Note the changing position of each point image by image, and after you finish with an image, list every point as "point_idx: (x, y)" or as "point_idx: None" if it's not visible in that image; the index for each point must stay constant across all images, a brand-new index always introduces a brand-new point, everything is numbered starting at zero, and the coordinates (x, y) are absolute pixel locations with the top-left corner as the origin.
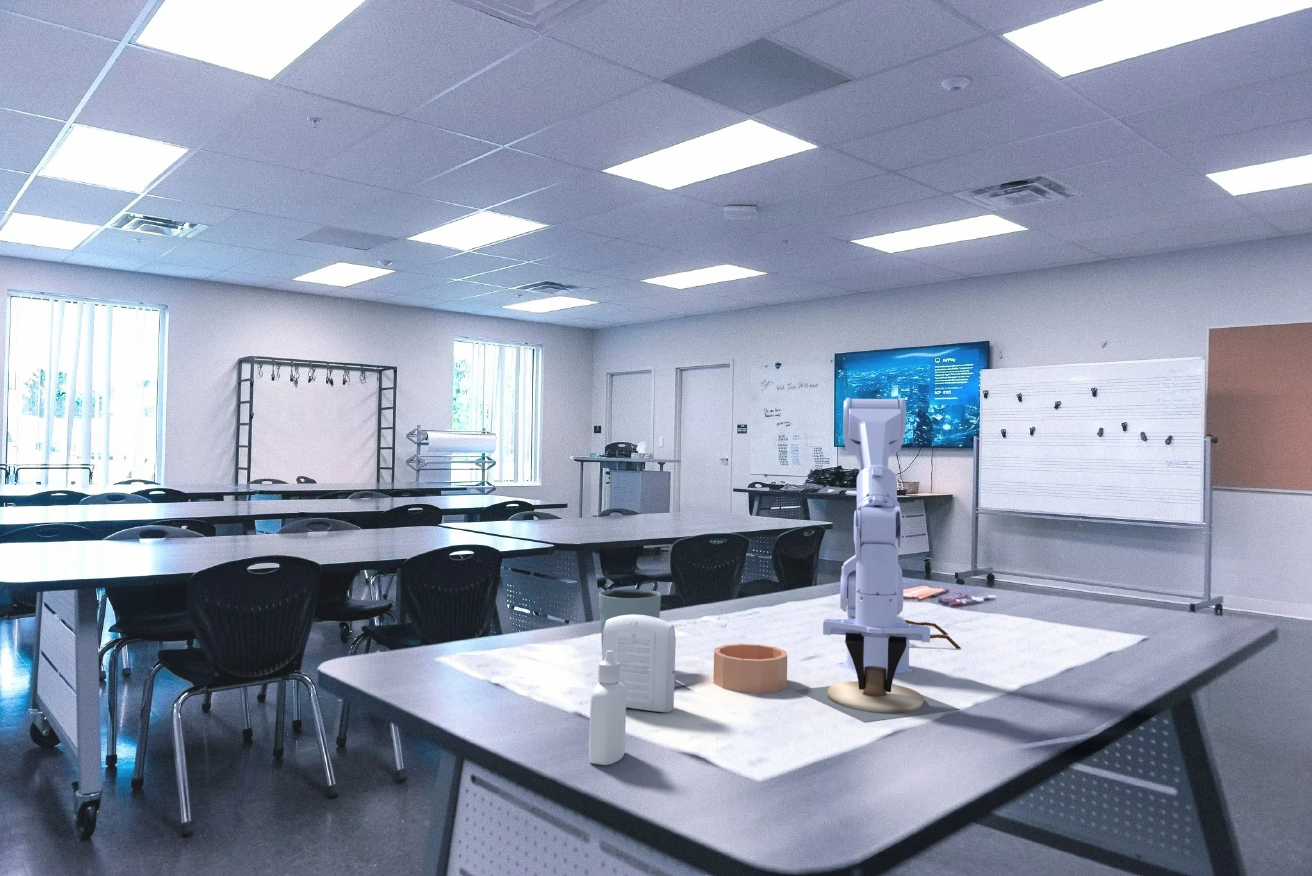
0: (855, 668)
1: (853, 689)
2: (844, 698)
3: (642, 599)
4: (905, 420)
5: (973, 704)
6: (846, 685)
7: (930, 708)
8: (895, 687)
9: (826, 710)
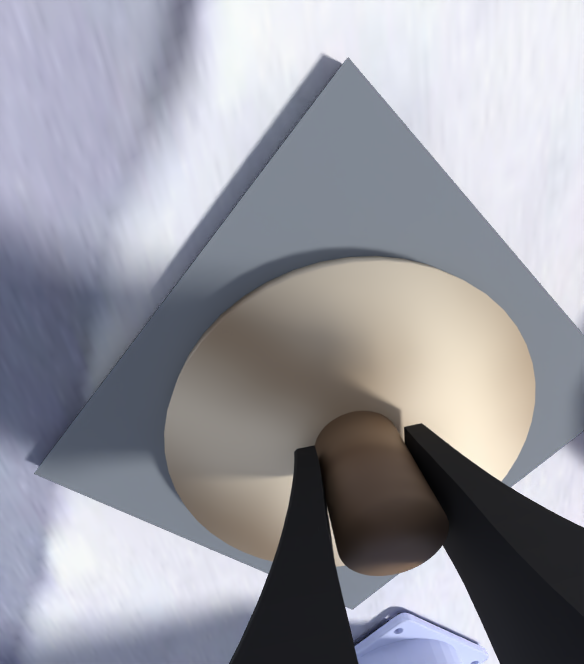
0: (499, 480)
1: None
2: (471, 319)
3: None
4: None
5: (46, 562)
6: None
7: (133, 427)
8: None
9: (518, 238)
